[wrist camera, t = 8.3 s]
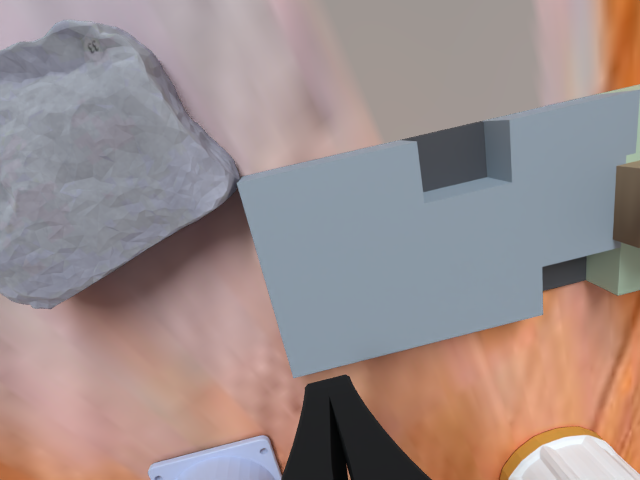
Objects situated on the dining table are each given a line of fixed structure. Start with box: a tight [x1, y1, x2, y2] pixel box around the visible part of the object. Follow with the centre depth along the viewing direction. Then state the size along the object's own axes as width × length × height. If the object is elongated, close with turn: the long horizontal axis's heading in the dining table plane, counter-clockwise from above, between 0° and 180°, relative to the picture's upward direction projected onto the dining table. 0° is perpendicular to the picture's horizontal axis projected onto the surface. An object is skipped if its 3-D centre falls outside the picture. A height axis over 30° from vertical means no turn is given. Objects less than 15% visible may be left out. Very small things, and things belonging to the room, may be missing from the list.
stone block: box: [0, 20, 240, 309], centre depth 16 cm, size 12×5×10 cm
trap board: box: [237, 84, 640, 378], centre depth 18 cm, size 24×11×4 cm, turn 102°
